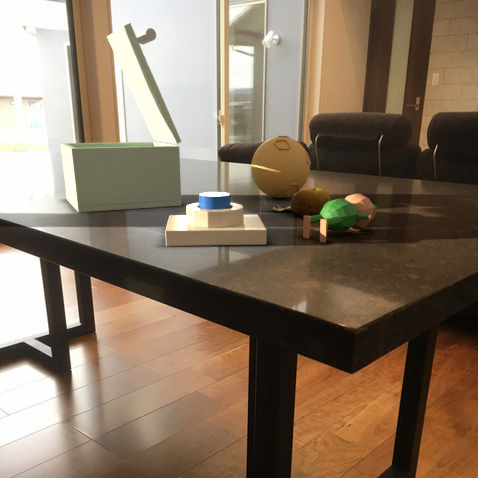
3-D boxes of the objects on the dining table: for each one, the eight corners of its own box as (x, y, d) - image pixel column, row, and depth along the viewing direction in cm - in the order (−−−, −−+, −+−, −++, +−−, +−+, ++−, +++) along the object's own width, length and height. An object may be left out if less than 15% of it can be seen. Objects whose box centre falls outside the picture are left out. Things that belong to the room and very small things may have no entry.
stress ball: (259, 203, 83) (260, 137, 79) (244, 194, 92) (245, 134, 88) (317, 201, 85) (321, 136, 81) (297, 192, 94) (300, 134, 90)
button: (199, 212, 58) (198, 196, 57) (199, 207, 61) (198, 191, 61) (231, 212, 58) (231, 196, 57) (229, 206, 61) (229, 191, 61)
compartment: (78, 212, 75) (71, 148, 71) (66, 199, 85) (60, 143, 82) (181, 205, 81) (179, 146, 77) (158, 194, 91) (156, 141, 88)
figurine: (292, 236, 62) (354, 222, 69) (338, 246, 57) (400, 229, 64) (292, 198, 60) (356, 187, 67) (340, 204, 55) (403, 192, 62)
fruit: (317, 206, 80) (319, 182, 79) (347, 216, 73) (349, 189, 71) (269, 210, 77) (269, 185, 76) (294, 220, 70) (296, 192, 69)
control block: (165, 246, 56) (164, 213, 55) (169, 228, 65) (168, 200, 63) (266, 244, 57) (267, 212, 56) (257, 227, 65) (258, 199, 64)
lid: (125, 25, 69) (156, 11, 70) (106, 36, 80) (134, 24, 81) (177, 144, 77) (204, 130, 78) (153, 139, 88) (178, 127, 89)
